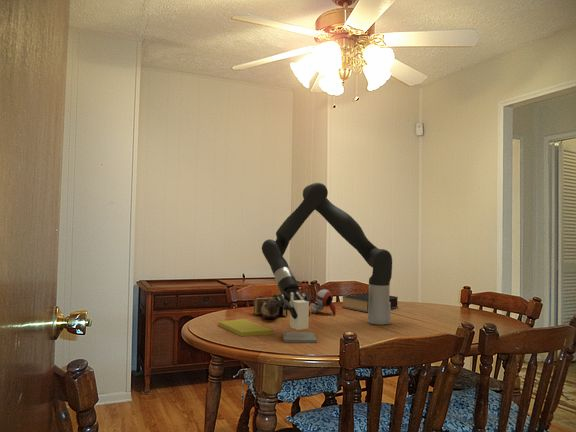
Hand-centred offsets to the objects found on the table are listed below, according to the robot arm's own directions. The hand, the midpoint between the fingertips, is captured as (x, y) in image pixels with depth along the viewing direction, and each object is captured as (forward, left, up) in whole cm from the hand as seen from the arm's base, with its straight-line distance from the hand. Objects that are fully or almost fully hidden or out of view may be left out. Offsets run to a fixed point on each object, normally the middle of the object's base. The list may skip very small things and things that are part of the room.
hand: (302, 317), depth 167 cm
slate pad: (+1, -2, -8) cm, 9 cm away
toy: (-12, -54, -9) cm, 56 cm away
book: (-42, -71, -9) cm, 83 cm away
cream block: (+1, -2, -4) cm, 5 cm away
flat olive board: (+22, -15, -9) cm, 28 cm away
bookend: (+11, -41, -9) cm, 44 cm away
